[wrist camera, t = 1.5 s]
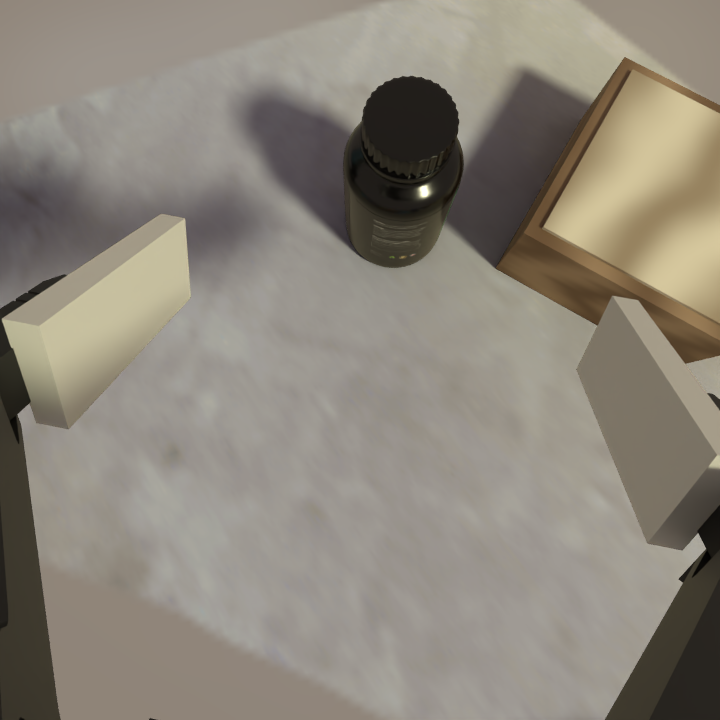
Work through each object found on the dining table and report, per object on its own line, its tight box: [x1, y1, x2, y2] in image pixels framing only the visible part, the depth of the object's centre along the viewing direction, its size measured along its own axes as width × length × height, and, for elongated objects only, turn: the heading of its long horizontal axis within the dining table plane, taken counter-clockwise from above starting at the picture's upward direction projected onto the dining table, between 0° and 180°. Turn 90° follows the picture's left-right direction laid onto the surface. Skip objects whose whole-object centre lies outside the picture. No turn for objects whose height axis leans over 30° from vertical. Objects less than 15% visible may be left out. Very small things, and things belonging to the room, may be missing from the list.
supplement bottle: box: [343, 76, 464, 268], centre depth 30 cm, size 7×7×12 cm
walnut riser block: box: [496, 57, 720, 364], centre depth 32 cm, size 14×14×6 cm
